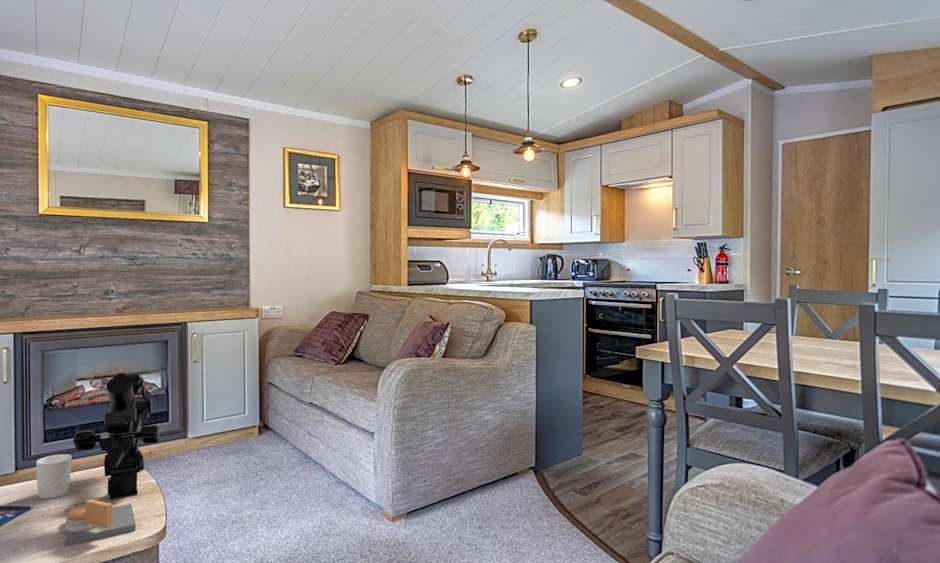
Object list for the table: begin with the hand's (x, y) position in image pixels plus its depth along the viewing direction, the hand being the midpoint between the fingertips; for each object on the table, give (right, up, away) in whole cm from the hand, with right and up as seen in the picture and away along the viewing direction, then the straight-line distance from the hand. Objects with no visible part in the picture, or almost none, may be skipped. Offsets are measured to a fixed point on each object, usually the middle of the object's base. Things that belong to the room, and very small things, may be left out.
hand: (113, 467), depth 135 cm
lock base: (0, -13, -5) cm, 14 cm away
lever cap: (+1, -10, -9) cm, 14 cm away
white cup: (-26, -13, +13) cm, 32 cm away
